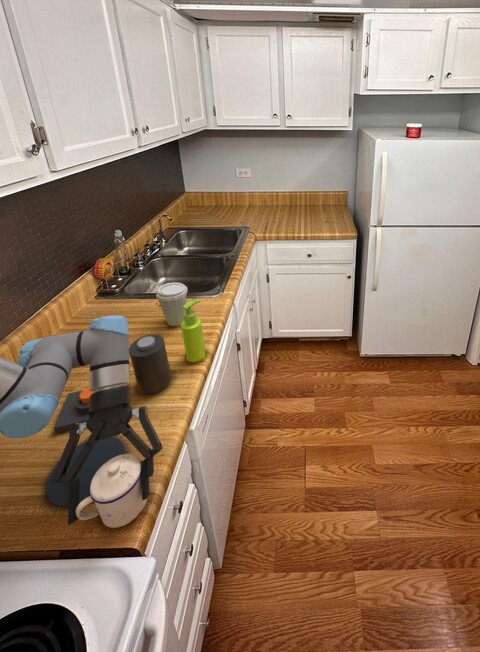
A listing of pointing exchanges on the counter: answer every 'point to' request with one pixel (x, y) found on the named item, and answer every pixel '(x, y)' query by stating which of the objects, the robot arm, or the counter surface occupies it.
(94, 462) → the mat
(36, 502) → the counter surface
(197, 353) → the soap dispenser
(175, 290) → the disposable coffee cup
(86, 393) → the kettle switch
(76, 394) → the kettle base
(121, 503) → the teacup with lid
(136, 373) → the dark grey cylinder
